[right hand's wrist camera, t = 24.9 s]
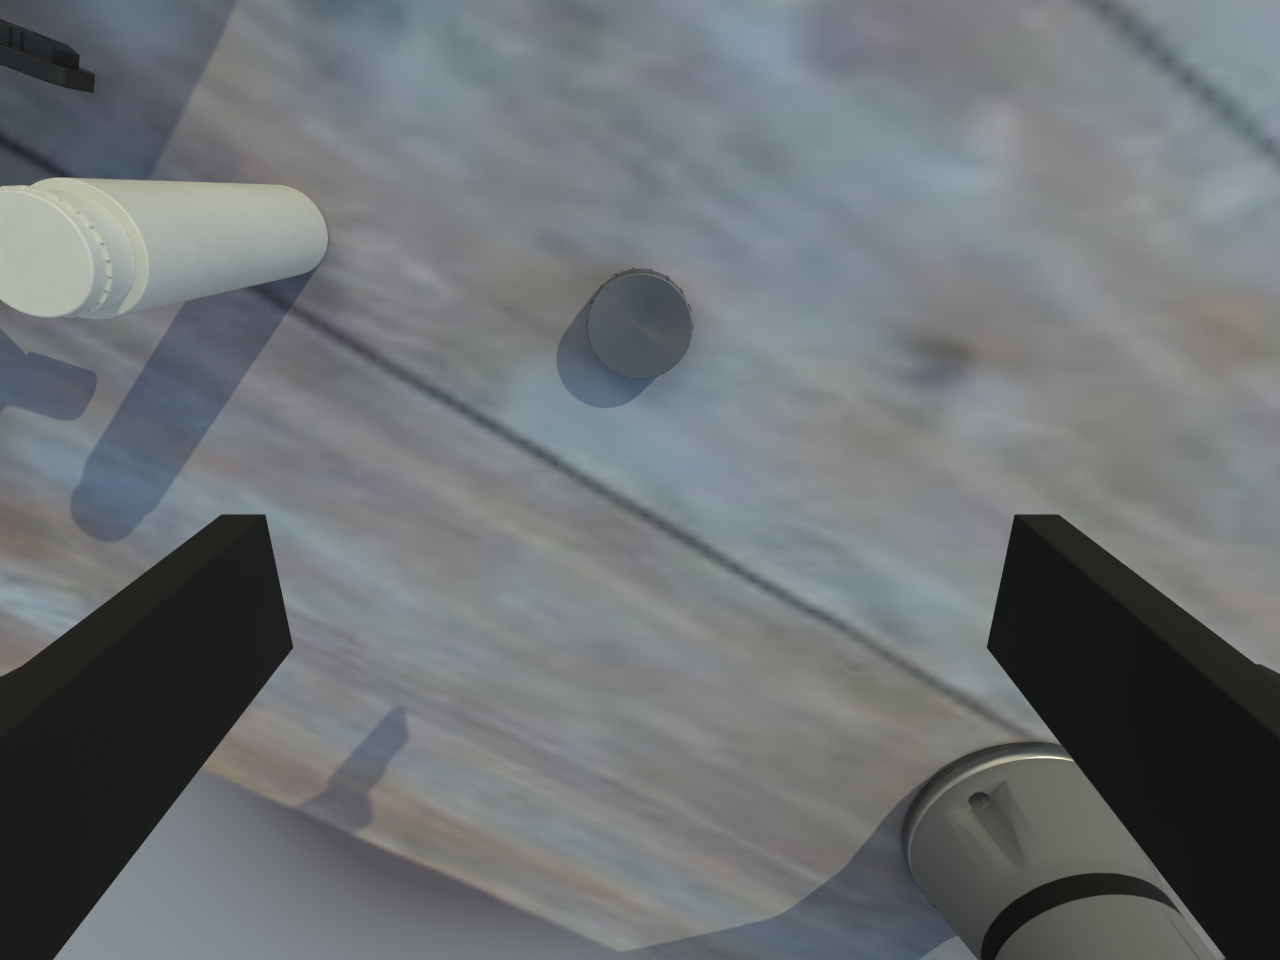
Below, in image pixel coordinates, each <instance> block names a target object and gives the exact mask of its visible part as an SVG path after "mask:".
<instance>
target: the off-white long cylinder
mask: <svg viewBox="0 0 1280 960" xmlns="http://www.w3.org/2000/svg"><path fill="white" fill-rule="evenodd" d="M327 244H328V233H327V227H326V223H325V221H324V218H323V216H322V214H321V212H320V211H319V209H318V208H317V206H316V205H315V204H314V203H313V201H312V200H310V199H309V198H308V197H307V196H306V195H305V194H303V193H302V192H300V191H298V190H296V189H294V188H292V187H288V186H284V185H269V184H239V183H209V182H179V181H149V180H119V179H89V178H49V179H45V180H41V181H38V182H36V183H34V184H32V185H31V186H27V185H18V186H1V187H0V300H1V301H2V302H4V303H6V304H7V305H9V306H10V307H12V308H14V309H16V310H18V311H20V312H23V313H25V314H28V315H32V316H35V317H41V318H57V317H63V316H64V317H65V318H67V317H82V318H86V319H95V320H103V319H111V318H115V317H119V316H124V315H128V314H132V313H137V312H141V311H145V310H150V309H154V308H158V307H163V306H167V305H171V304H176V303H180V302H185V301H189V300H193V299H198V298H202V297H206V296H211V295H215V294H219V293H224V292H228V291H232V290H237V289H241V288H245V287H250V286H254V285H259V284H263V283H267V282H272V281H276V280H280V279H285V278H289V277H293V276H298V275H302V274H305V273H307V272H309V271H311V270H313V269H314V268H315V267H316V266H317V265H318V264H319V263H320V262H321V260H322V259H323V257H324V255H325V252H326V249H327Z"/></svg>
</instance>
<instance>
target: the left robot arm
mask: <svg viewBox="0 0 1280 960" xmlns="http://www.w3.org/2000/svg"><path fill="white" fill-rule="evenodd" d="M0 64H1V65H3V66H6V67H9V68H11V69H14V70H17V71H19V72H22V73H25V74H27V75H30V76H33V77H35V78H38V79H41V80H43V81H46V82H49V83H52V84H55V85H58V86H62V87H66V88H70V89H75V90H81V91H86V92H91V93H94V83H95V74H94V73H91V72H89V71H86V70H83V69H81V68H79V54H78V53H76V52H75V51H74V50H73V49H71V48H70V47H69V46H68V45H66V44H64V43H61V42H59V41H56V40H53V39H51V38H48V37H46V36H43V35H40V34H38V33H35V32H32V31H30V30H27V29H25V28H22V27H19V26H17V25H14V24H12V23H9V22H6V21H4V20H2V19H0ZM0 301H1V300H0Z"/></svg>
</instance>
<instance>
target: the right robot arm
mask: <svg viewBox="0 0 1280 960" xmlns="http://www.w3.org/2000/svg"><path fill="white" fill-rule="evenodd" d="M292 648H293V644H292V640H291V635H290V630H289V625H288V621H287V616H286V611H285V606H284V602H283V597H282V592H281V587H280V582H279V578H278V573H277V568H276V563H275V559H274V554H273V549H272V544H271V539H270V535H269V530H268V525H267V520H266V516H265V515H220V516H219V517H218V518H216V519H215V520H214V521H212V522H211V523H210V524H209V525H207V526H206V527H205V528H203V529H202V530H201V531H199V532H198V533H197V534H195V535H194V536H193V537H191V538H190V539H189V540H187V541H186V542H185V543H183V544H182V545H181V546H180V547H178V548H177V549H176V550H174V551H173V552H172V553H170V554H169V555H168V556H166V557H165V558H164V559H162V560H161V561H160V562H158V563H157V564H156V565H155V566H153V567H152V568H151V569H149V570H148V571H147V572H145V573H144V574H143V575H141V576H140V577H139V578H137V579H136V580H135V581H133V582H132V583H131V584H129V585H128V586H127V587H126V588H124V589H123V590H122V591H120V592H119V593H118V594H116V595H115V596H114V597H112V598H111V599H110V600H108V601H107V602H106V603H104V604H103V605H102V606H101V607H99V608H98V609H97V610H95V611H94V612H93V613H91V614H90V615H89V616H87V617H86V618H85V619H83V620H82V621H81V622H79V623H78V624H77V625H75V626H74V627H73V628H72V629H70V630H69V631H68V632H66V633H65V634H64V635H62V636H61V637H60V638H58V639H57V640H56V641H54V642H53V643H52V644H50V645H49V646H48V647H47V648H45V649H44V650H43V651H41V652H40V653H39V654H37V655H36V656H35V657H33V658H32V659H31V660H29V661H28V662H27V663H25V664H24V665H23V666H22V667H19V668H17V669H15V670H13V671H11V672H9V673H7V674H5V675H3V676H1V677H0V960H53V959H54V958H55V956H56V955H57V954H58V953H59V951H60V950H61V949H62V947H63V946H64V945H65V943H66V942H67V941H68V940H69V938H70V937H71V936H72V934H73V933H74V932H75V930H76V929H77V928H78V927H79V925H80V924H81V923H82V921H83V920H84V919H85V917H86V916H87V915H88V914H89V912H90V911H91V910H92V908H93V907H94V906H95V904H96V903H97V902H98V901H99V899H100V898H101V897H102V895H103V894H104V893H105V891H106V890H107V889H108V888H109V886H110V885H111V884H112V882H113V881H114V880H115V878H116V877H117V876H118V875H119V873H120V872H121V871H122V869H123V868H124V867H125V865H126V864H127V863H128V862H129V860H130V859H131V858H132V856H133V855H134V854H135V852H136V851H137V850H138V849H139V847H140V846H141V845H142V843H143V842H144V841H145V839H146V838H147V837H148V836H149V834H150V833H151V832H152V830H153V829H154V828H155V826H156V825H157V824H158V823H159V821H160V820H161V819H162V817H163V816H164V815H165V813H166V812H167V811H168V810H169V808H170V807H171V806H172V804H173V803H174V802H175V800H176V799H177V798H178V797H179V795H180V794H181V793H182V791H183V790H184V789H185V787H186V786H187V785H188V784H189V782H190V781H191V780H192V778H193V777H194V776H195V774H196V773H197V772H198V771H199V769H200V768H201V767H202V765H203V764H204V763H205V761H206V760H207V759H208V758H209V756H210V755H211V754H212V752H213V751H214V750H215V748H216V747H217V746H218V745H219V743H220V742H221V741H222V739H223V738H224V737H225V736H226V734H227V733H228V732H229V730H230V729H231V728H232V726H233V725H234V724H235V723H236V721H237V720H238V719H239V717H240V716H241V715H242V713H243V712H244V711H245V710H246V708H247V707H248V706H249V704H250V703H251V702H252V700H253V699H254V698H255V697H256V695H257V694H258V693H259V691H260V690H261V689H262V687H263V686H264V685H265V684H266V682H267V681H268V680H269V678H270V677H271V676H272V674H273V673H274V672H275V671H276V669H277V668H278V667H279V665H280V664H281V663H282V661H283V660H284V659H285V658H286V656H287V655H288V654H289V652H290V651H291V650H292ZM987 648H988V650H989V651H990V652H991V654H992V655H993V656H994V658H995V659H996V660H997V661H998V663H999V664H1000V665H1001V667H1002V668H1003V669H1004V671H1005V672H1006V673H1007V674H1008V676H1009V677H1010V678H1011V680H1012V681H1013V682H1014V684H1015V685H1016V686H1017V687H1018V689H1019V690H1020V691H1021V693H1022V694H1023V695H1024V697H1025V698H1026V699H1027V700H1028V702H1029V703H1030V704H1031V706H1032V707H1033V708H1034V710H1035V711H1036V712H1037V713H1038V715H1039V716H1040V717H1041V719H1042V720H1043V721H1044V723H1045V724H1046V725H1047V726H1048V728H1049V729H1050V730H1051V732H1052V733H1053V734H1054V736H1055V737H1056V738H1057V739H1058V741H1059V742H1060V743H1061V745H1057V744H1051V743H1041V742H1025V743H1014V744H1007V745H1002V746H997V747H993V748H990V749H986V750H983V751H981V752H978V753H975V754H973V755H971V756H968V757H966V758H964V759H962V760H960V761H958V762H956V763H955V764H953V765H951V766H950V767H948V768H947V769H945V770H944V771H943V772H941V773H940V774H939V775H937V776H936V777H935V778H934V779H933V780H932V781H931V782H929V784H928V785H927V786H926V787H925V788H924V789H923V790H922V791H921V792H920V794H919V795H918V796H917V798H916V799H915V801H914V802H913V804H912V806H911V808H910V810H909V812H908V814H907V817H906V820H905V823H904V828H903V836H902V838H903V849H904V854H905V857H906V860H907V862H908V865H909V867H910V870H911V872H912V875H913V877H914V879H915V881H916V883H917V885H918V886H919V888H920V889H921V891H922V893H923V894H924V896H925V897H926V898H927V900H928V901H929V902H930V903H931V904H932V905H933V906H934V907H935V908H936V909H937V910H938V911H939V912H940V913H941V915H942V916H943V917H944V918H945V920H946V921H947V922H948V924H949V925H950V926H951V927H952V929H953V930H954V931H955V932H956V934H957V935H958V936H959V937H960V938H961V940H962V941H963V942H964V943H965V945H966V946H967V947H968V948H969V949H970V951H971V952H972V953H973V954H974V955H975V957H976V958H977V959H978V960H1216V958H1215V957H1214V956H1213V954H1212V953H1211V952H1210V950H1209V949H1208V948H1207V946H1206V945H1205V944H1204V943H1203V941H1202V940H1201V939H1200V937H1199V936H1198V935H1197V933H1196V932H1195V931H1194V929H1193V928H1192V927H1191V926H1190V924H1189V923H1188V922H1187V920H1186V919H1185V918H1184V917H1183V916H1182V914H1181V913H1180V912H1179V910H1178V909H1177V908H1176V906H1175V905H1174V904H1173V902H1172V901H1171V899H1170V898H1169V897H1168V895H1167V894H1166V893H1165V891H1164V889H1163V887H1162V884H1161V881H1160V878H1159V876H1158V873H1157V870H1156V868H1157V869H1158V871H1159V872H1160V873H1161V875H1162V876H1163V877H1164V878H1165V880H1166V881H1167V882H1168V884H1169V885H1170V886H1171V888H1172V889H1173V890H1174V891H1175V893H1176V894H1177V895H1178V897H1179V898H1180V899H1181V901H1182V902H1183V903H1184V904H1185V906H1186V907H1187V908H1188V910H1189V911H1190V912H1191V914H1192V915H1193V916H1194V917H1195V919H1196V920H1197V921H1198V923H1199V924H1200V925H1201V927H1202V928H1203V929H1204V930H1205V932H1206V933H1207V934H1208V936H1209V937H1210V938H1211V940H1212V941H1213V942H1214V943H1215V945H1216V946H1217V947H1218V949H1219V950H1220V951H1221V953H1222V954H1223V955H1224V956H1225V958H1226V959H1227V960H1280V674H1279V673H1277V672H1275V671H1273V670H1271V669H1269V668H1267V667H1265V666H1263V665H1261V664H1255V663H1253V662H1252V661H1251V660H1249V659H1248V658H1247V657H1245V656H1244V655H1243V654H1241V653H1240V652H1239V651H1237V650H1236V649H1235V648H1233V647H1232V646H1231V645H1230V644H1228V643H1227V642H1226V641H1224V640H1223V639H1222V638H1220V637H1219V636H1218V635H1216V634H1215V633H1214V632H1212V631H1211V630H1210V629H1208V628H1207V627H1206V626H1204V625H1203V624H1202V623H1201V622H1199V621H1198V620H1197V619H1195V618H1194V617H1193V616H1191V615H1190V614H1189V613H1187V612H1186V611H1185V610H1183V609H1182V608H1181V607H1179V606H1178V605H1177V604H1176V603H1174V602H1173V601H1172V600H1170V599H1169V598H1168V597H1166V596H1165V595H1164V594H1162V593H1161V592H1160V591H1158V590H1157V589H1156V588H1154V587H1153V586H1152V585H1151V584H1149V583H1148V582H1147V581H1145V580H1144V579H1143V578H1141V577H1140V576H1139V575H1137V574H1136V573H1135V572H1133V571H1132V570H1131V569H1129V568H1128V567H1127V566H1125V565H1124V564H1123V563H1122V562H1120V561H1119V560H1118V559H1116V558H1115V557H1114V556H1112V555H1111V554H1110V553H1108V552H1107V551H1106V550H1104V549H1103V548H1102V547H1100V546H1099V545H1098V544H1097V543H1095V542H1094V541H1093V540H1091V539H1090V538H1089V537H1087V536H1086V535H1085V534H1083V533H1082V532H1081V531H1079V530H1078V529H1077V528H1075V527H1074V526H1073V525H1071V524H1070V523H1069V522H1068V521H1066V520H1065V519H1064V518H1062V517H1061V516H1060V515H1015V516H1014V520H1013V525H1012V530H1011V535H1010V539H1009V544H1008V549H1007V554H1006V559H1005V563H1004V568H1003V573H1002V578H1001V582H1000V587H999V592H998V597H997V602H996V606H995V611H994V616H993V621H992V625H991V630H990V635H989V640H988V644H987Z"/></svg>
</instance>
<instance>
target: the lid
mask: <svg viewBox="0 0 1280 960" xmlns="http://www.w3.org/2000/svg"><path fill="white" fill-rule="evenodd" d="M590 307H591V308H590V312H589V316H588V321H587V323H586V325H588V337H589V342H590V344H591V346H592V349H593V351H594V352H595V354H596V356H597V357H598V359H599V360H600V361H601V362H602V363H603V364H604V365H605V366H606V367H607V368H609V369H610V370H611V371H613V372H615V373H617V374H619V375H621V376H624V377H628V378H633V379H647V378H652V377H656V376H658V375H661V374H663V373H665V372H667V371H668V370H670V369H671V368H673V367H674V366H675V365H676V364H677V363H678V362H679V361H680V359H681V358H682V357H683V355H684V354H685V352H686V350H687V348H688V347H689V343H690V340H691V335H692V329H693V325H692V317H691V312H690V311H691V308H690V305H689V304H687V301H686V299H685V297H684V295H683V291H682V289H681V288H680V289H679V288H678V287H677V285H676V284H675V283H674V282H673V281H671V280H670V279H669V276H664V275H662V274H660V273H658V272H655V271H652V269H650V270H646V269H634V268H632V270H629V271H625V272H622V273H620V274H618V275H617V274H615V275H614V277H612V278H611V279H610V280H608V281H607V282H606V283H605V284H604V285H601V286H600V289H599V292H598V293H597V295H596V297H595V299H594V301H593V300H592V302H591V304H590Z"/></svg>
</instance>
